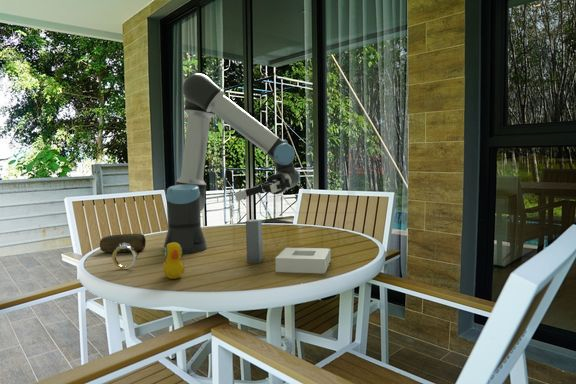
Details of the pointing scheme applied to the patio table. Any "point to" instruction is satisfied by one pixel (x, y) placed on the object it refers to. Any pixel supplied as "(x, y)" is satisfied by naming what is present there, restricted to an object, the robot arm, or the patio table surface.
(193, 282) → the patio table surface
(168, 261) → the duckling
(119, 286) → the patio table surface
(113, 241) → the stone weight
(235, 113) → the robot arm
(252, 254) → the tall dark grey pillar
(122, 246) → the ring
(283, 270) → the well block
